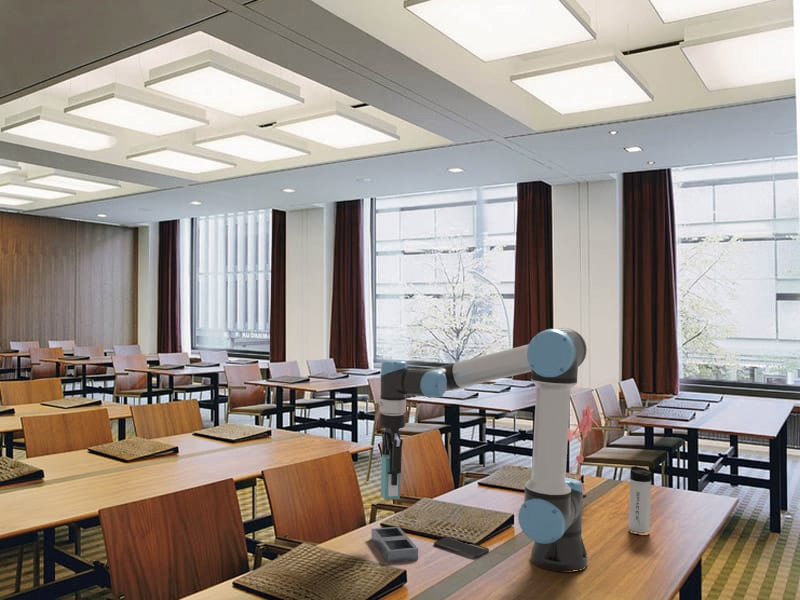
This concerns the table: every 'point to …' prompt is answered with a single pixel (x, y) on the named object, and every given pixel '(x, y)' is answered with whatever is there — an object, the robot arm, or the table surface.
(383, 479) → the square peg
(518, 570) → the table surface
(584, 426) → the pink flower branch
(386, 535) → the grey hollow block
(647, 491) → the travel mug
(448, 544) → the phone
